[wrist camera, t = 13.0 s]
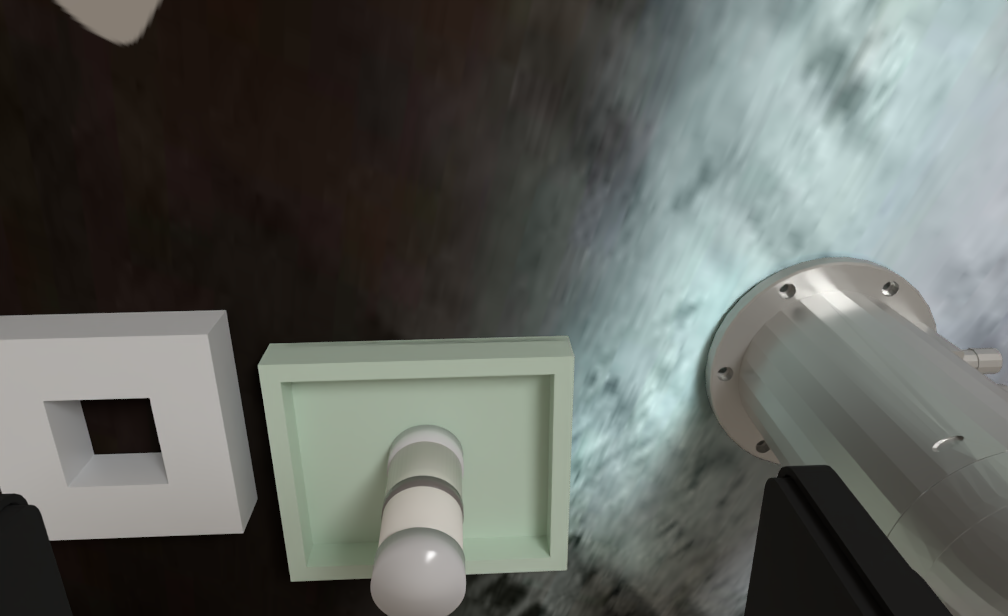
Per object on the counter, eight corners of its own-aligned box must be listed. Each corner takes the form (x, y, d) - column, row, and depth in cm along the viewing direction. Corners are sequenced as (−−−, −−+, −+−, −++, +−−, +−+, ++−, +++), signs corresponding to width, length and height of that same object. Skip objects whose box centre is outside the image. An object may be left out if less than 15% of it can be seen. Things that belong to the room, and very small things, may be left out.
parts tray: (568, 335, 40) (574, 356, 38) (561, 541, 45) (566, 570, 43) (269, 343, 39) (257, 365, 37) (299, 551, 45) (290, 581, 42)
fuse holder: (226, 310, 38) (207, 334, 35) (257, 498, 43) (243, 533, 40) (-11, 316, 38) (-49, 341, 35) (47, 506, 42) (18, 541, 40)
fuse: (461, 422, 41) (463, 547, 32) (465, 483, 43) (468, 619, 33) (385, 426, 41) (365, 553, 32) (392, 488, 42) (375, 626, 33)
